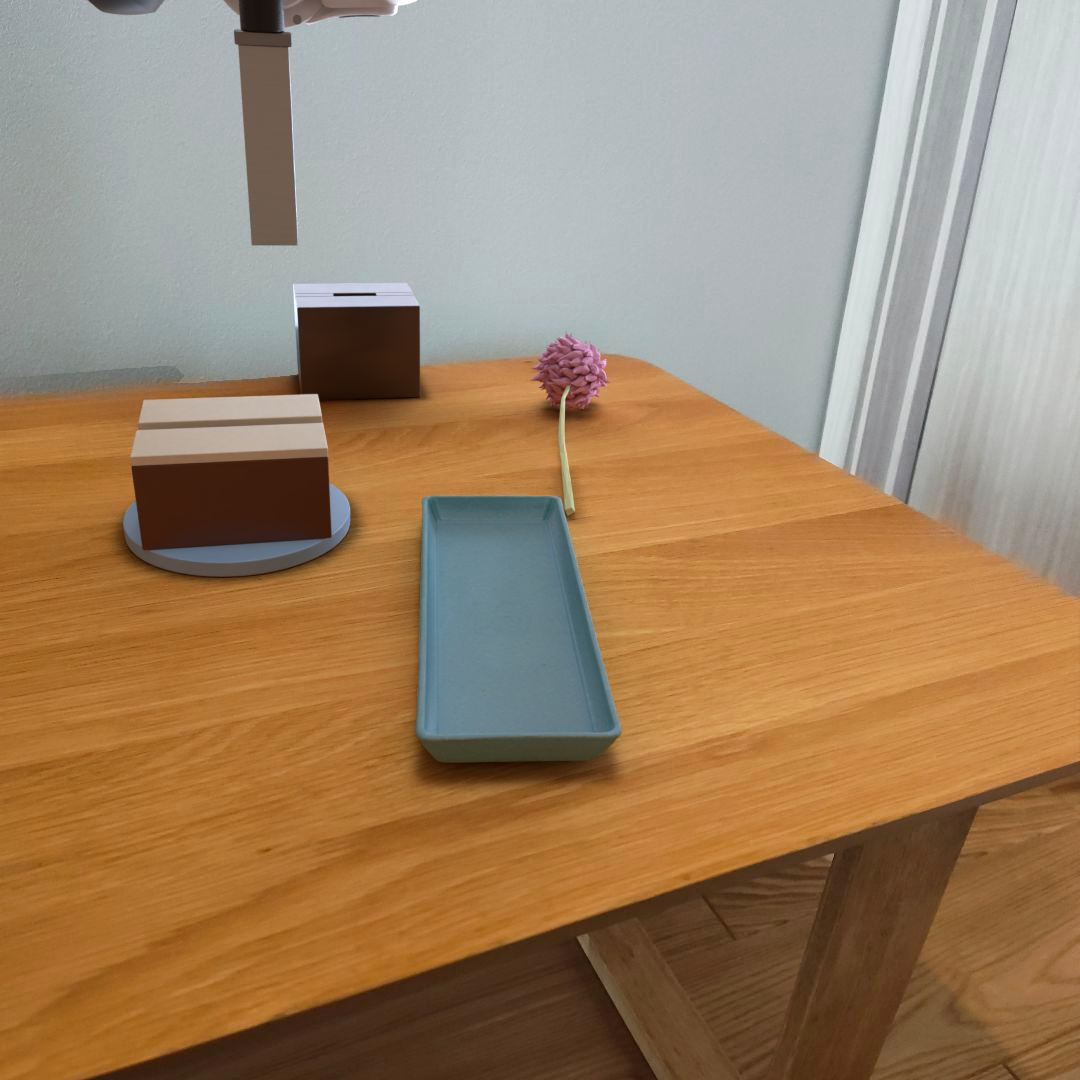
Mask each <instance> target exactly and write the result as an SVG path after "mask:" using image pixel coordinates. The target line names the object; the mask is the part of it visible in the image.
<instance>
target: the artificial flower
mask: <svg viewBox="0 0 1080 1080" xmlns="http://www.w3.org/2000/svg"><path fill="white" fill-rule="evenodd" d="M588 343H589V345H588V344H587V340H585V341H584V342H581V341H580V340H579V339H577V338H575V337H574V336H573V333H572V332H571V333H570V334H568V333H567V331H565V336H564V337H562V336H558V337H556V340H554V342H550V343H549V344H547V346H546V347H545V350H546V351H545V352H542V354H541V357H539V358H537V360H538V362H539V363H538V364H536V365H535V366H531V369H532V370H535V371H537V372H538V373H536V375H535V376H534V377H532V378H531V379H530V380H529V381H530V382H539V383H542V384H541V385H540V386H539V387H538V389H540V391H542V390H543V391H544V390H545V394H547V396H546V398H545V401H546V400H548V399H549V400H548V402H547V403H550V405H549V407H550V408H552V406H553V407H556V406H558V411H559V420H558V434H557V435H558V439H557V441H558V451H559V454H560V466H561V469H560V470H561V480H562V490H563V491H562V492H563V503H564V505H563V506H564V512H565V515H566V516H567V517H569V516H570V515H572V514H573V513H576V509H575V500H574V495H573V487H572V481H571V474H570V473H571V472H570V467H569V458H568V453H567V447H566V435H565V424H566V423H565V422H566V420H565V417H566V410H569V409H574V408H578V407H579V408H578V409H579V410H581V409H582V410H583V411H584V410H585V407H588V405H589V404H590V402H591V401H592V398H593V397H597V398H600V395H599V393H600V389H601V387H603V388H604V387H608V386H607V385H608V384H611V382H610V381H609V380H608V377H607V373H606V372H605V370H604V369H605V368H606V366H607V358H605V359H603V360H602V359H601V354H600V352H599V351H600V349H597V347H596V346H595V345H594V344H593V343H592V342H591V341H589V342H588Z"/></svg>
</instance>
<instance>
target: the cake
mask: <svg viewBox="0 0 1080 1080" xmlns="http://www.w3.org/2000/svg"><path fill="white" fill-rule="evenodd" d="M137 421H138V422H137V426H138V429H137V430H136V431H135V435H134V438H133V443H132V447H131V451H130V454H129V461H130V465H131V466H130V467H131V468H130V469H131V475H132V482H133V484H132V485H133V490H134V498H135V500H134V501H133V502H132V503H131V504H130V505H129V507H128V508H127V510H126V511H125V513H124V516H123V519H122V528H123V535H124V539H125V543H126V545H127V547H128V548H129V550H130V551H131V552H132V553H133V554H134V555H135V556H136V557H138V558H139V559H141V560H142V561H144V562H146V563H148V564H149V565H152V566H154V567H157V568H159V569H162V570H164V571H169V572H173V573H178V574H183V575H190V576H197V577H212V578H213V577H217V578H219V577H220V578H228V577H247V576H255V575H262V574H267V573H273V572H278V571H282V570H286V569H289V568H293V567H296V566H300V565H303V564H305V563H307V562H311V561H312V560H314V559H317V558H319V557H321V556H323V555H325V554H326V553H328V552H329V551H331V550H332V549H334V548H336V546H337V545H338V544H340V543H341V541H343V539H344V538H345V537H346V535H347V533H348V532H349V530H350V526H351V504H350V502H349V499H348V497H346V495H345V494H344V492H343V491H341V490H340V489H339V488H338V487H337V486H335V485H334V484H332V483H331V482H330V469H329V468H330V467H329V466H330V464H329V447H328V442H327V437H326V430H325V425H324V422H323V415H322V409H321V403H320V400H319V398H318V394H304V395H301V394H279V395H277V394H276V395H249V396H248V395H247V396H244V395H243V396H219V397H217V396H216V397H189V398H163V399H162V398H159V399H143V400H142V405H141V409H140V414H139V417H138V420H137Z"/></svg>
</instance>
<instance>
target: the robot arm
mask: <svg viewBox="0 0 1080 1080" xmlns="http://www.w3.org/2000/svg"><path fill="white" fill-rule="evenodd" d="M86 1H87V2H88V3H89V4H91V5H92V6H93V7H94V8H96V9H97V10H99V12H102V13H106V14H112V15H121V16H140V15H147V14H153V13H154V14H155V13H156V12H157V11H158V10H159V8H160V7H161V6H162V5H163V3H165V0H86ZM417 1H418V0H283V8H284V28H285V29H289V28H294V27H297V26H300V25H302V24H305V25H312V24H316V23H319V22H322V21H325V20H329V19H333V18H338V19H344V18H345V19H346V18H355V17H356V18H357V17H358V18H359V17H360V18H361V17H362V18H363V17H368V18H369V17H374V18H375V17H376V18H380V17H381V16H383V17H384V16H387V17H392V16H394V15H396V14H397V13H398V9H399V6H405V5H410V4H412V3H415V2H417ZM223 2H224V3H225V4H226V6H228V8H230V10H232V11H233V12H234V13H235V14H237V15H238V16H239V17H240V13H239V0H223Z"/></svg>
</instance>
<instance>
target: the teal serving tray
mask: <svg viewBox="0 0 1080 1080" xmlns="http://www.w3.org/2000/svg"><path fill="white" fill-rule="evenodd" d="M566 516H567V515H566V512H565V508H564V505H563V501H562V498H561V497H559V496H557V495H515V494H514V495H511V494H510V495H505V494H504V495H503V494H502V495H497V494H496V495H495V494H493V495H492V494H491V495H488V494H485V495H483V494H482V495H479V494H474V495H465V494H464V495H463V494H461V495H460V494H459V495H458V494H454V495H453V494H452V495H451V494H450V495H449V494H448V495H447V494H445V495H443V494H442V495H437V494H435V495H426V496H424V497H422V498H421V551H420V552H421V554H420V555H421V557H420V585H419V586H420V589H419V591H420V592H419V618H418V619H419V621H418V622H419V623H418V625H419V629H418V662H417V663H418V664H417V665H418V667H417V668H418V670H417V672H418V673H417V692H416V693H417V696H416V719H415V727H414V732H415V735H416V738H417V739H418V740H419V742H420V743H421V745H422V746H423V748H424V749H425V750H426V751H427V752H428V754H430V755H431V756H432V758H433V759H435V760H436V761H437V762H438V763H439V762H440V763H444V764H447V763H448V764H449V763H450V764H451V763H452V764H453V763H457V764H461V763H503V762H505V763H508V762H509V763H510V762H513V763H514V762H565V761H566V762H567V761H569V762H574V761H575V762H578V761H579V762H581V761H582V762H583V761H592V760H595V759H597V758H598V757H599V756H601V755H602V754H603V753H604V752H605V751H607V749H609V748H610V747H611V746H612V745H613V744H614V743H615V742H616V741H617V739H618V738H619V737H620V736H621V735H622V734H623V728H622V723H621V721H620V717H619V714H618V711H617V707H616V704H615V700H614V696H613V693H612V690H611V689H612V688H611V685H610V681H609V678H608V673H607V670H606V666H605V663H604V660H603V655H602V651H601V648H600V644H599V641H598V637H597V633H596V630H595V626H594V621H593V618H592V614H591V610H590V607H589V601H588V598H587V594H586V590H585V587H584V582H583V578H582V575H581V571H580V568H579V563H578V559H577V556H576V551H575V548H574V544H573V540H572V536H571V532H570V528H569V525H568V520H567V518H566Z"/></svg>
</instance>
